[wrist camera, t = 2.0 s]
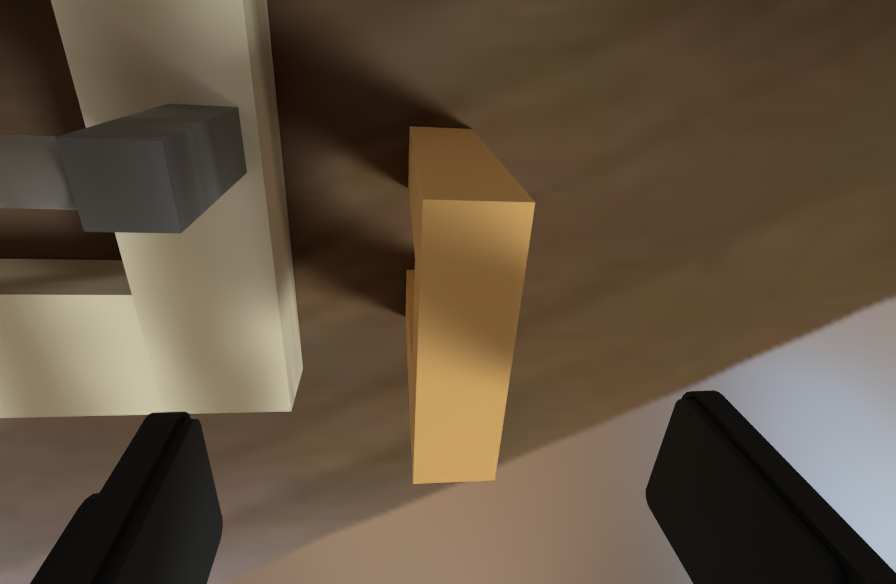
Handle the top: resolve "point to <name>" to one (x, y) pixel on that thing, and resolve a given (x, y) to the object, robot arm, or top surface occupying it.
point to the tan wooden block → (461, 301)
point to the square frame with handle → (156, 222)
